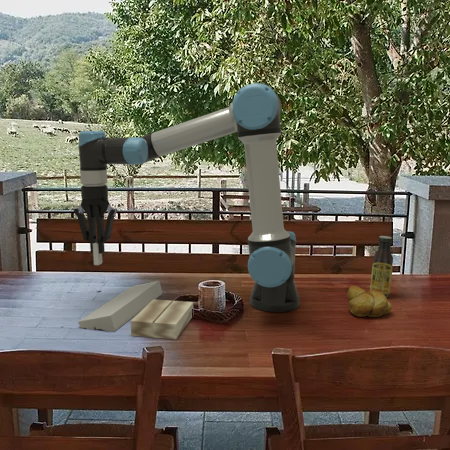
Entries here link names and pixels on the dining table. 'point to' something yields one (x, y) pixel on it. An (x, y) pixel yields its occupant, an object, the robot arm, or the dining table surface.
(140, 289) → the decorative molding
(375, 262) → the sauce bottle
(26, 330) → the dining table surface
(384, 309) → the bread roll
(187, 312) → the floorboards
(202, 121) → the robot arm
